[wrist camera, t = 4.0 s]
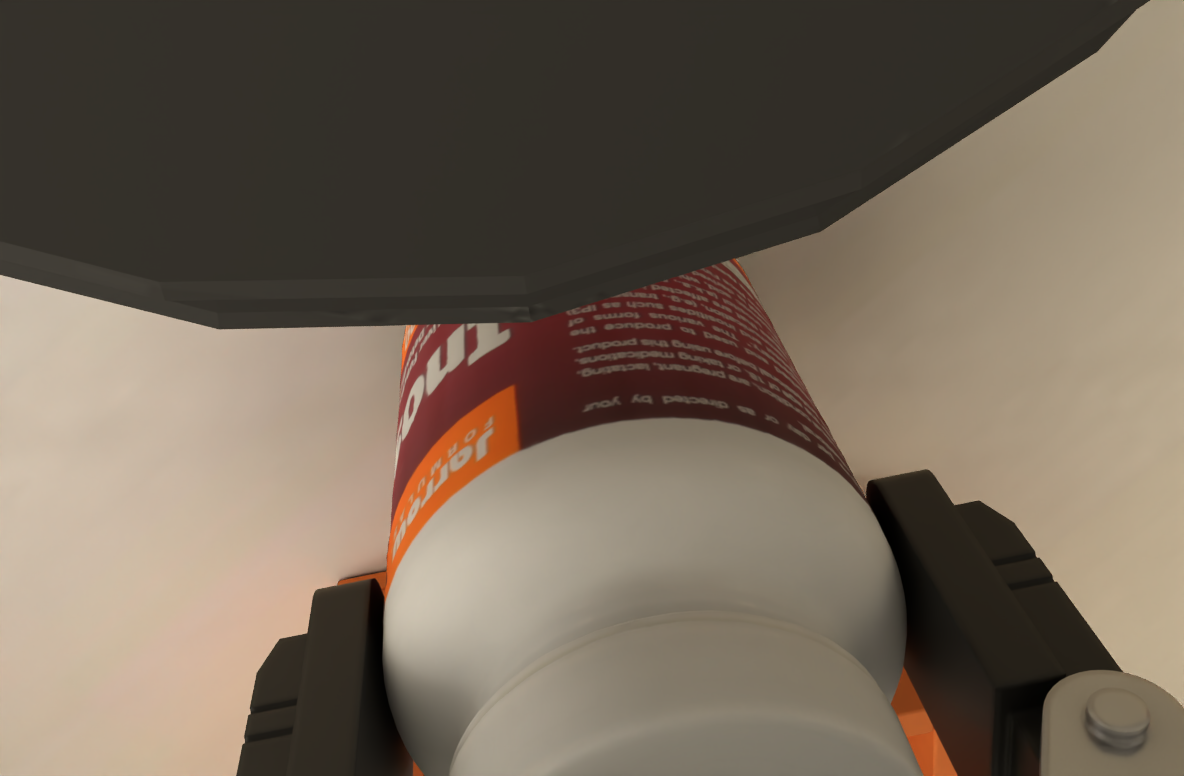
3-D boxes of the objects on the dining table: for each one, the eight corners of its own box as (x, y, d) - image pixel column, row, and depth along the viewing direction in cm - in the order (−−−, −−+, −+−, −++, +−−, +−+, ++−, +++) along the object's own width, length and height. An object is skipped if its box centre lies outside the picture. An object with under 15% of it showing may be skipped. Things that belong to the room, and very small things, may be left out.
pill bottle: (423, 142, 18) (402, 614, 8) (788, 196, 19) (1142, 661, 9) (384, 465, 20) (336, 1084, 11) (702, 494, 22) (902, 1073, 12)
